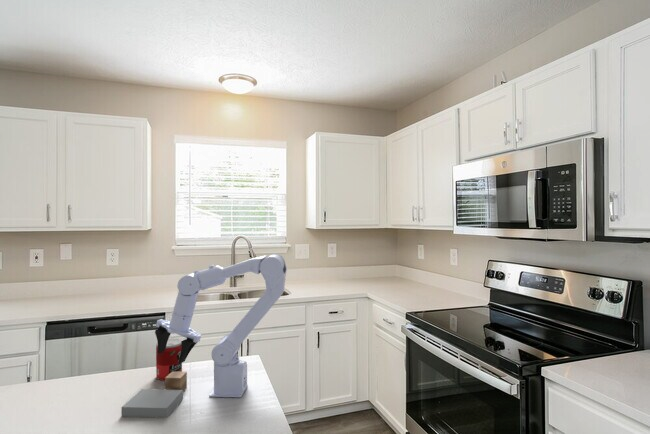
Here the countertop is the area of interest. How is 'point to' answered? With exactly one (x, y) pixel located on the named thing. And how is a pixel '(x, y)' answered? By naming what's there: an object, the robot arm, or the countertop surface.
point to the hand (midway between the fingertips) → (171, 357)
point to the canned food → (168, 359)
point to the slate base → (152, 403)
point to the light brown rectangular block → (176, 381)
